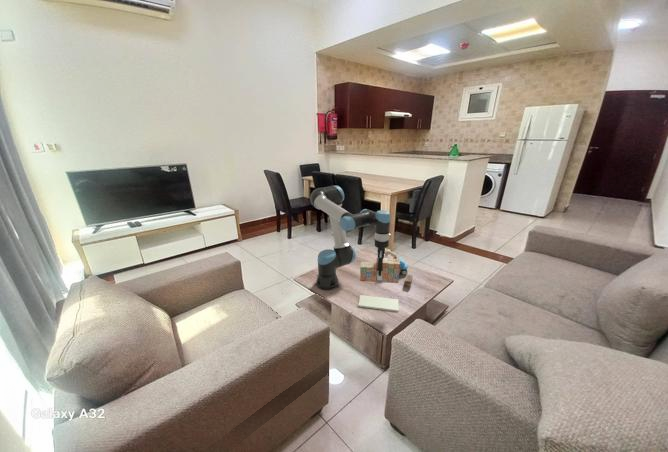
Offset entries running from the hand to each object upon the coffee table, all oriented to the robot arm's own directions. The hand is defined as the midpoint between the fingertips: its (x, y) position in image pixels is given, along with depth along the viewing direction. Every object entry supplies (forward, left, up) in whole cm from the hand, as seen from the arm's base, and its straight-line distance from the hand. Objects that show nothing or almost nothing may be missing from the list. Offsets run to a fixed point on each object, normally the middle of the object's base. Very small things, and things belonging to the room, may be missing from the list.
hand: (379, 276), depth 146 cm
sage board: (0, 0, -19) cm, 19 cm away
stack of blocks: (-1, 0, -2) cm, 2 cm away
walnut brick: (+18, +25, -19) cm, 36 cm away
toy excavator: (+10, +40, -19) cm, 45 cm away
